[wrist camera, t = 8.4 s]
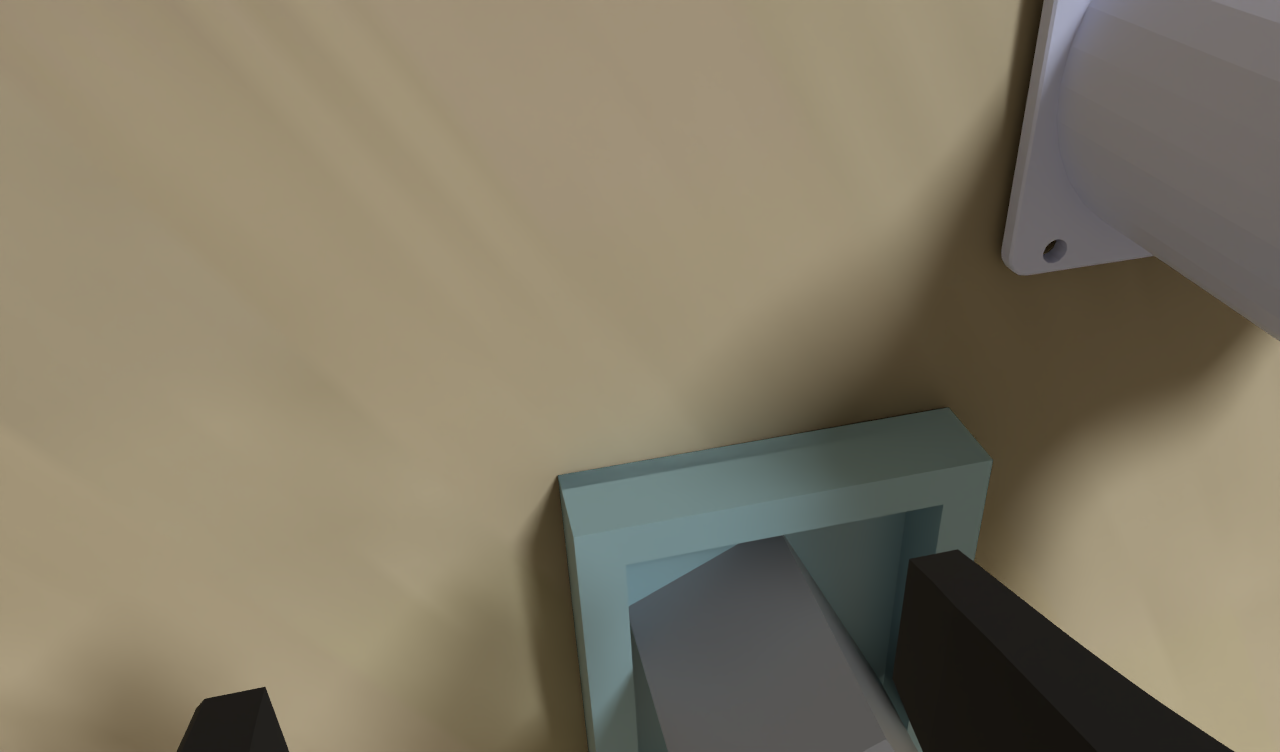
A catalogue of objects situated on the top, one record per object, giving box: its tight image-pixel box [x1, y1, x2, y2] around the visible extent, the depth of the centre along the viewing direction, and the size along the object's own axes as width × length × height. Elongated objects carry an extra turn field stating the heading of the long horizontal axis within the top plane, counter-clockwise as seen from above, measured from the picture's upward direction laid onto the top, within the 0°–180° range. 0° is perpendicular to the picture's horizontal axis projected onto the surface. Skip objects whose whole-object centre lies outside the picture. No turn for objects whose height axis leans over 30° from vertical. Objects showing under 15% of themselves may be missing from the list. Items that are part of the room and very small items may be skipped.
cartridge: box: [629, 535, 918, 752], centre depth 23 cm, size 4×7×6 cm, turn 29°
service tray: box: [558, 408, 993, 752], centre depth 25 cm, size 9×12×2 cm
